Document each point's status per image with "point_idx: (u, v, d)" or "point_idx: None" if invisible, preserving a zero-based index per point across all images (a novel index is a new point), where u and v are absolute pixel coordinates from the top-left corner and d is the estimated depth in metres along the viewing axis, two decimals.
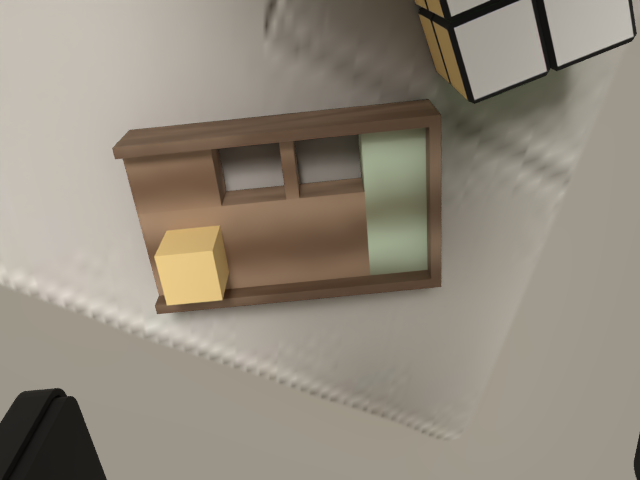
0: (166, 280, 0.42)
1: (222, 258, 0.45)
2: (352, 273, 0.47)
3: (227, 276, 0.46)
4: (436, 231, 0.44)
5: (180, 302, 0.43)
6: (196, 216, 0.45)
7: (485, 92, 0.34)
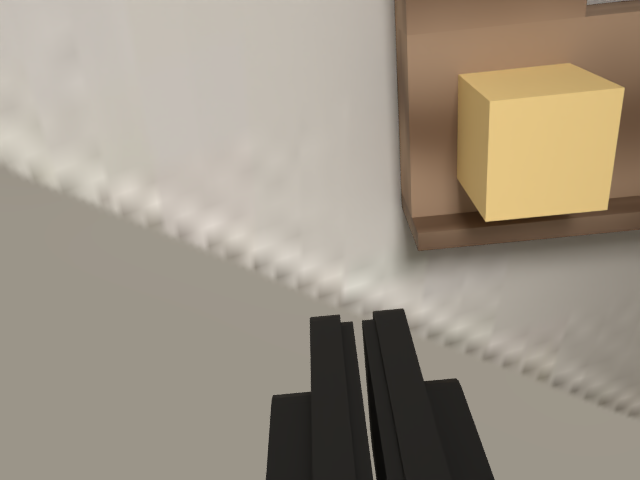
0: (501, 162, 0.19)
1: None
2: None
3: None
4: None
5: (516, 214, 0.20)
6: (526, 40, 0.21)
7: None
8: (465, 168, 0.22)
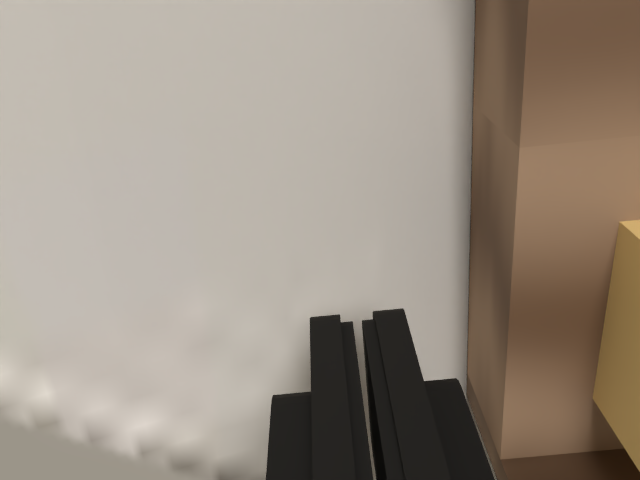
0: None
1: None
2: None
3: None
4: None
5: None
6: None
7: None
8: (629, 410, 0.11)
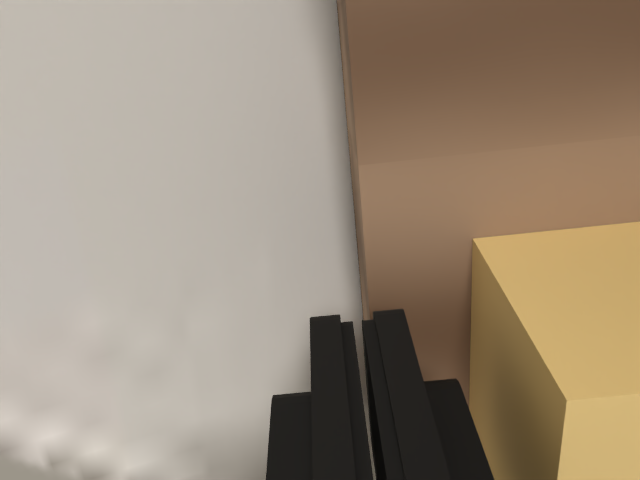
0: None
1: None
2: None
3: None
4: None
5: None
6: (615, 172, 0.10)
7: None
8: (488, 425, 0.11)
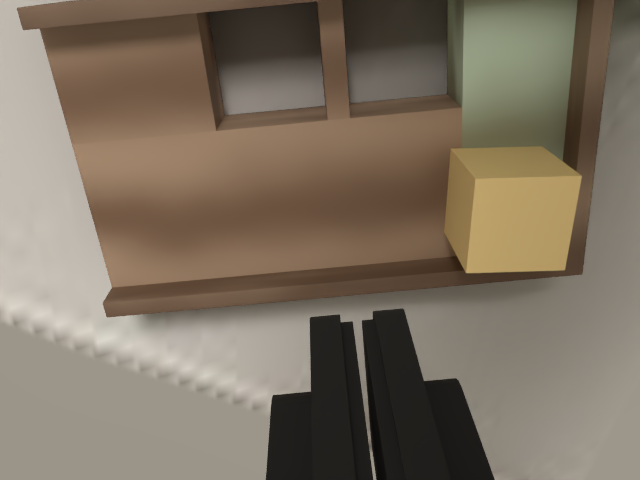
0: (481, 226, 0.23)
1: None
2: (431, 252, 0.29)
3: None
4: (585, 176, 0.26)
5: (491, 269, 0.24)
6: (172, 148, 0.26)
7: None
8: (452, 226, 0.27)
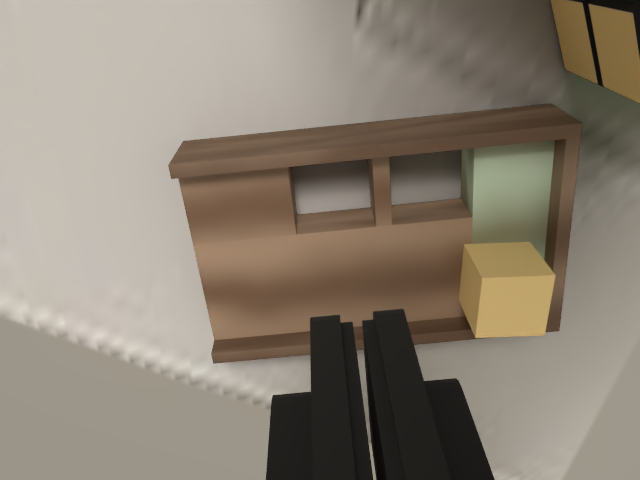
0: (486, 307, 0.34)
1: None
2: (448, 313, 0.39)
3: None
4: (560, 265, 0.36)
5: (493, 335, 0.35)
6: (264, 246, 0.36)
7: None
8: (464, 299, 0.37)
